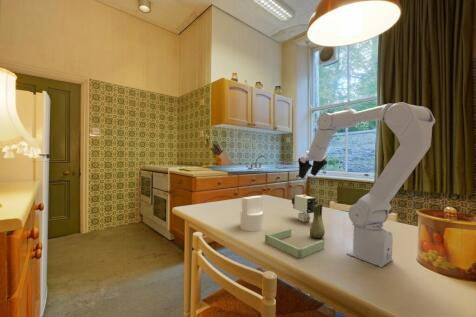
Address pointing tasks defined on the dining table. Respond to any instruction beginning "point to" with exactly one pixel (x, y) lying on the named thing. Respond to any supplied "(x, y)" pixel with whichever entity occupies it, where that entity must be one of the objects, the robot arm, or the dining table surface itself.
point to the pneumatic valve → (304, 206)
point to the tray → (293, 250)
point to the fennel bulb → (317, 223)
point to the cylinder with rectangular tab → (252, 213)
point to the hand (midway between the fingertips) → (307, 175)
